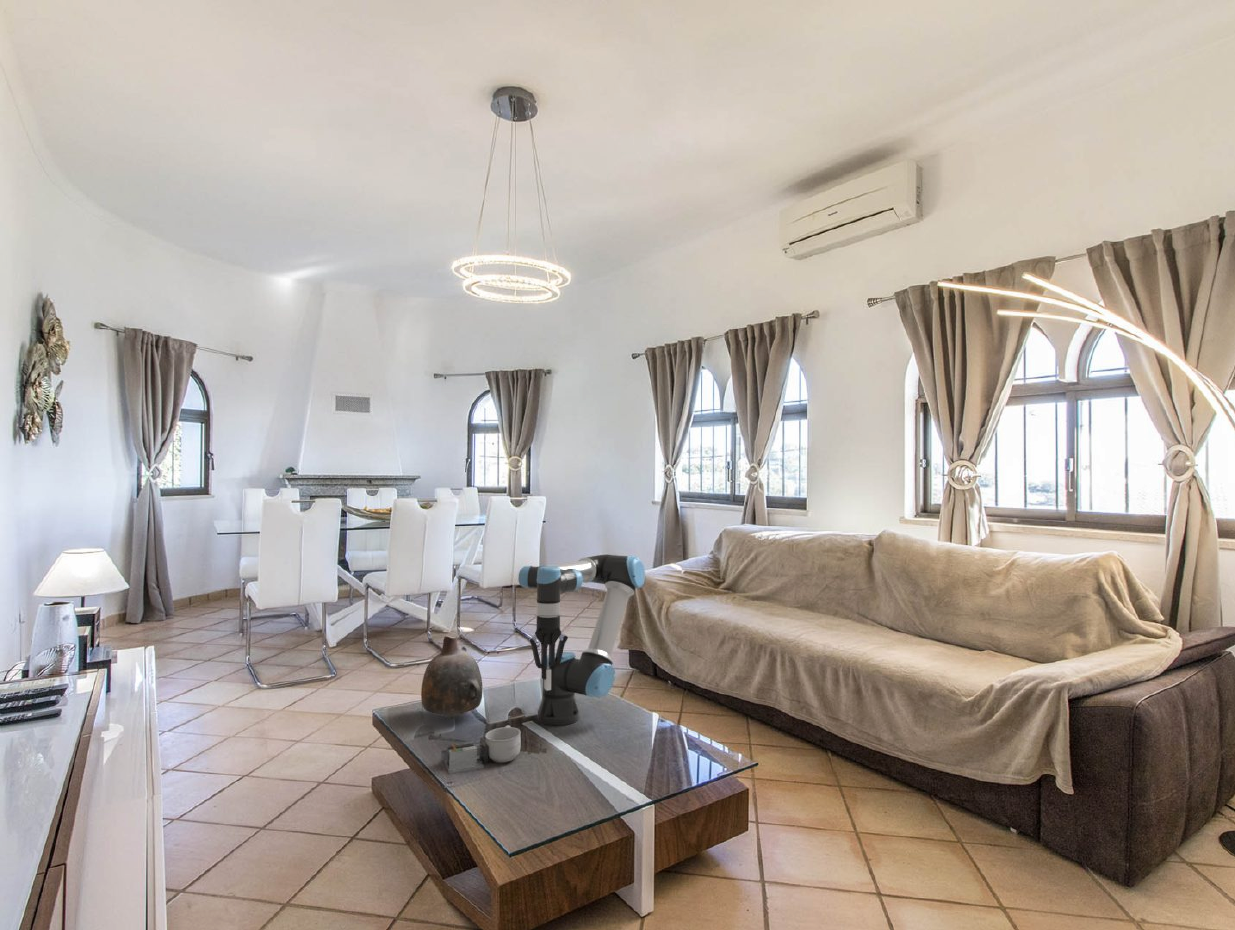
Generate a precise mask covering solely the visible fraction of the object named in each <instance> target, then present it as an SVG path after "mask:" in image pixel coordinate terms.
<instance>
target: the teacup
mask: <svg viewBox="0 0 1235 930" xmlns="http://www.w3.org/2000/svg"><path fill="white" fill-rule="evenodd" d="M521 734H522V733H521V729H520V728H518V727H517V728H516V727H511V725H505V726H504V727H502V726H501V727H497V728H494V729H491V730H489V731H488V732H486V733H485V735H484V737H485V738H484V739H485V742H486V744H487V745H488V759H490V760H492V761H493V762H495V763H498V764H499V763H501V764H502V763H508V762H509V763H510V762H511V761H513V760H514V759H515V758H516V757H517V756H518V755H519V754H520V751H521V747H522V745H521V744H522V740H521Z"/></svg>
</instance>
